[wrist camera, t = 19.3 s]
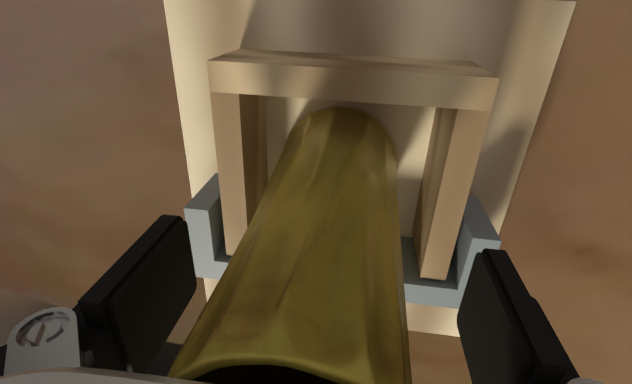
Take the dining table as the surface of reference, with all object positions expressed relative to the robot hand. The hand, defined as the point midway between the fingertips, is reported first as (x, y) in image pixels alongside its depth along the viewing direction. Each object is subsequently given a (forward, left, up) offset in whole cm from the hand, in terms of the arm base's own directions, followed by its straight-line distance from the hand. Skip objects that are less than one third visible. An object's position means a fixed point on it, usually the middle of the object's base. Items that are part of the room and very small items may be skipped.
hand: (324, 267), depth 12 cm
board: (0, -2, -11) cm, 11 cm away
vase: (0, 0, -9) cm, 9 cm away
